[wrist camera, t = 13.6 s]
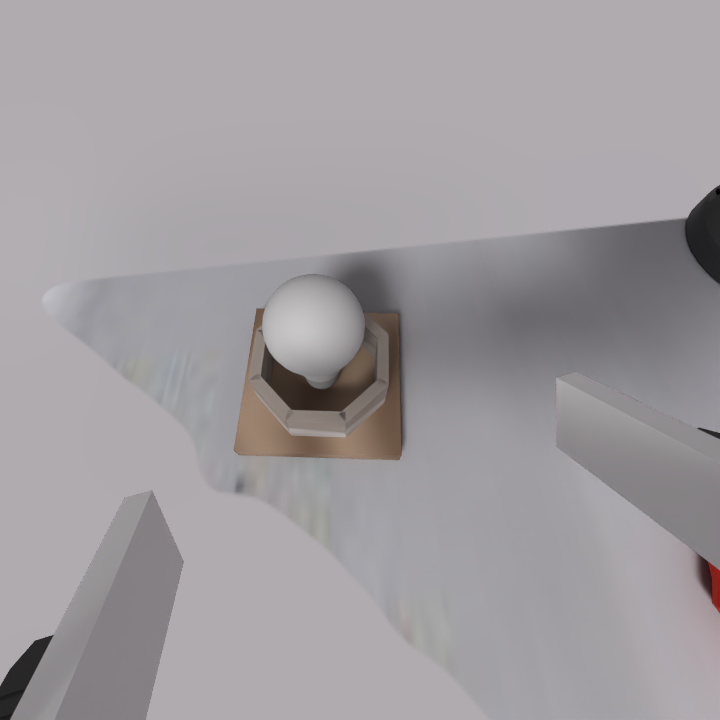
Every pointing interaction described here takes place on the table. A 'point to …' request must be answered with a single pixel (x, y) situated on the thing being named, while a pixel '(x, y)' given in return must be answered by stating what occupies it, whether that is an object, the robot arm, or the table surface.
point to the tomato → (715, 585)
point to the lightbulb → (313, 327)
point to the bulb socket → (325, 402)
